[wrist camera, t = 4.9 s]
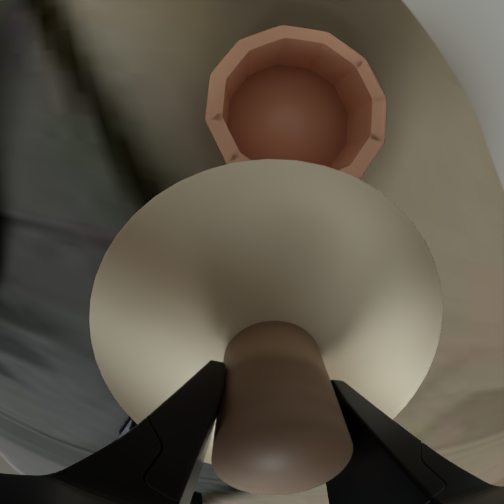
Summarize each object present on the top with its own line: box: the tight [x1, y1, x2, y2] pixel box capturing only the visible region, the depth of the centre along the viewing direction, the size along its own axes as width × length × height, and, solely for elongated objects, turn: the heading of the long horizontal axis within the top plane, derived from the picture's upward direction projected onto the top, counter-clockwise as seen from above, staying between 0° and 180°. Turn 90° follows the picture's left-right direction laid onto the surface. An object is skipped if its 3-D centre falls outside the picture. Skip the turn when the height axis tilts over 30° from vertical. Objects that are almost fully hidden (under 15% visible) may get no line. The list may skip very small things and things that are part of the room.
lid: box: [89, 159, 443, 495], centre depth 8 cm, size 12×12×5 cm
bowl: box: [205, 25, 386, 179], centre depth 16 cm, size 9×9×5 cm
